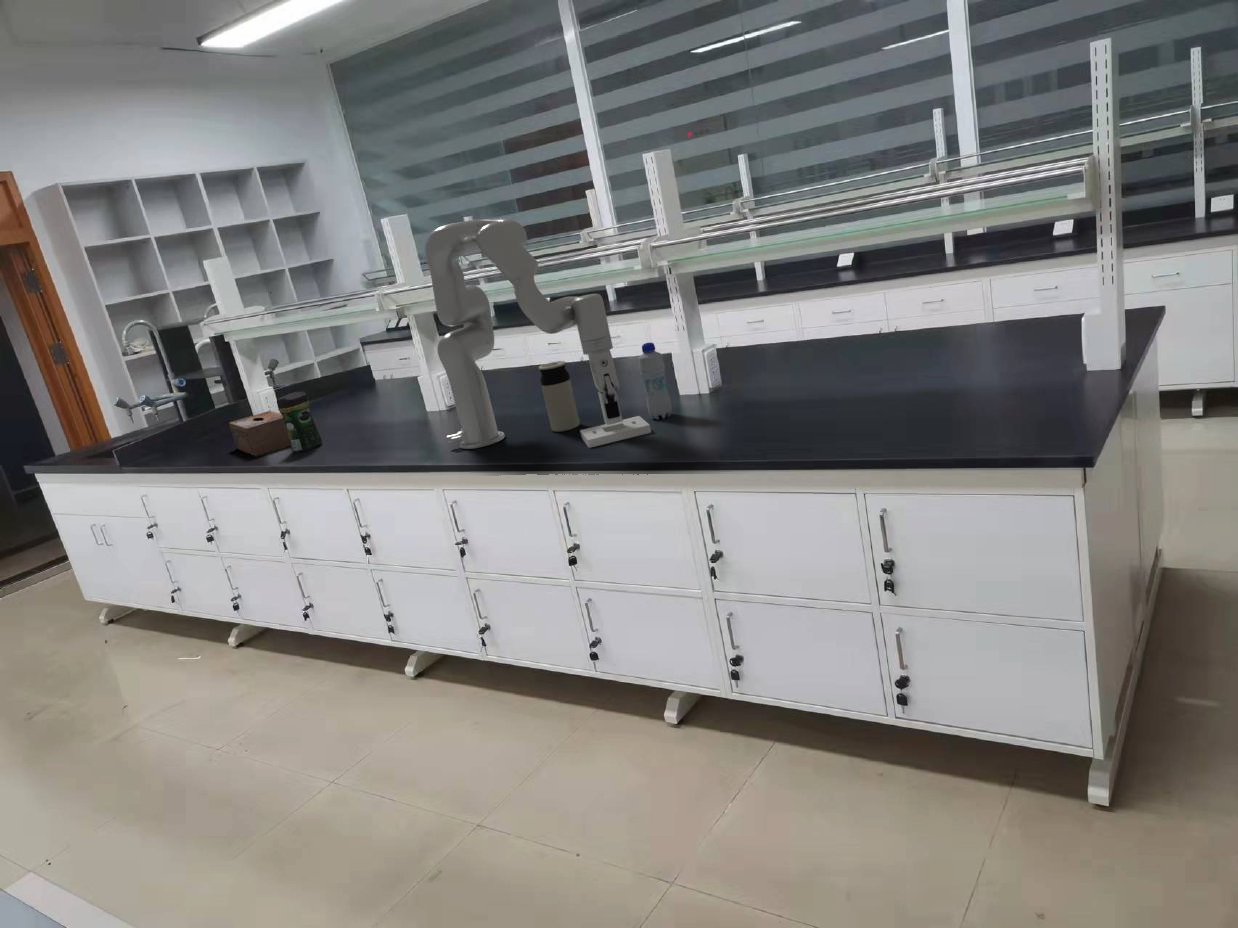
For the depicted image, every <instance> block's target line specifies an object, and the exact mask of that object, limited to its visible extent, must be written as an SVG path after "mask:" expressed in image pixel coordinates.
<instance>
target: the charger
mask: <svg viewBox="0 0 1238 928" xmlns="http://www.w3.org/2000/svg"><path fill="white" fill-rule="evenodd" d="M605 391H607V390H605ZM617 391H618V390H616V388H614V392H615V396H616V400H617V403H618V408H619V412H620V416H619V417H616V418H612V419H608V418H607V414H606V409H605V399H604V395H603V392H600V391H598V392H597V394H598V398H599V402H600V407H601V413H602V417H603V421H604V424H607V425H611V424H615V423H619V422H623V420H624V419H623V416H622V410H621V405H620V401H619V397H618V392H617ZM607 394H608V393H606V395H607Z"/></svg>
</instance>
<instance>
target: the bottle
mask: <svg viewBox="0 0 1238 928" xmlns="http://www.w3.org/2000/svg"><path fill="white" fill-rule="evenodd" d="M641 351H642V354H641V355H640V356H639V357H638V368H639V369H638V370H639V371H640V372H639V373H640V376H641V377H642V378H641V379H642V381H643V382H642V383H643V387H644V388H643V389H644V392H645V393H644V394H645V397H646V404H647V412H648V414H649V417H650V418H651V419H652V420H659V419H660V417H659V416H661V418H662V419H666V417H668V418H669V417H670V416H671V415H672V411H673V408H672V407H673V406H672V402H671V397H670V394H669V389H668V383H667V378H666V374H665V372H666V366H665V365H666V364H665V361H664V360H663V355H662V353H661V352H658V351H656V346H655V344H654V343H653V342H646V343H643V344H642V346H641Z"/></svg>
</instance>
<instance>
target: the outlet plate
mask: <svg viewBox="0 0 1238 928" xmlns="http://www.w3.org/2000/svg"><path fill="white" fill-rule="evenodd" d="M622 420H623V422H619V423H615V424H611V425H607V424H606V423H604V424H601V425H597V426H592V427H588V428H584V429H580V430H579V432H580V436H581V439H582V440H583V442H584V443H585V445H587V447H588V448H589V449H590V448H595V447H598V446H602V445H607V444H610V443H615V442H618V441H622V440H627V439H630V438H634V437H640V436H643V435H646V434H651V433H652V430H651V425H650V424H649V423H648V422H647V421H646V420H645V419H644V418H642V417H641V416H640V415H637V416H633V417H628V418H625V419H622Z"/></svg>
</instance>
